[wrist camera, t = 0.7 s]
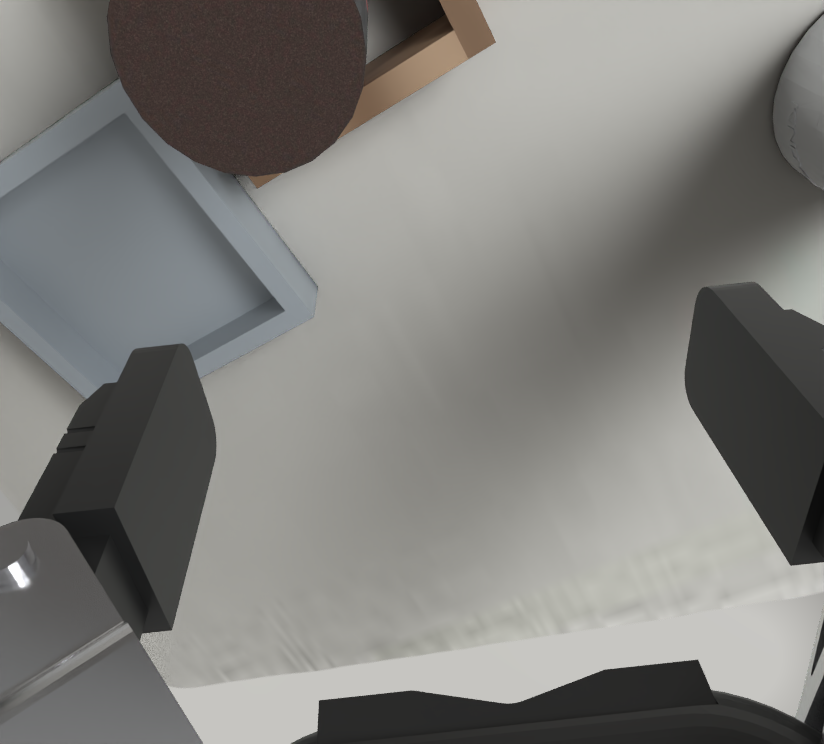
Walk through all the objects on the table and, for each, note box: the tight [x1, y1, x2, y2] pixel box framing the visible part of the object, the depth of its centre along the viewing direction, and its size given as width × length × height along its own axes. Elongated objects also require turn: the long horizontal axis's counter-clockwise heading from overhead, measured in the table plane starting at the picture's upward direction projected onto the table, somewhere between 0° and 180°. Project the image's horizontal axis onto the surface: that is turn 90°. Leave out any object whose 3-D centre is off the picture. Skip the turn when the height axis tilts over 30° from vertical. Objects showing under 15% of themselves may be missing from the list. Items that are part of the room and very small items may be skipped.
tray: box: [0, 78, 318, 399], centre depth 34 cm, size 13×13×3 cm
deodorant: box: [107, 0, 368, 177], centre depth 23 cm, size 6×6×15 cm
